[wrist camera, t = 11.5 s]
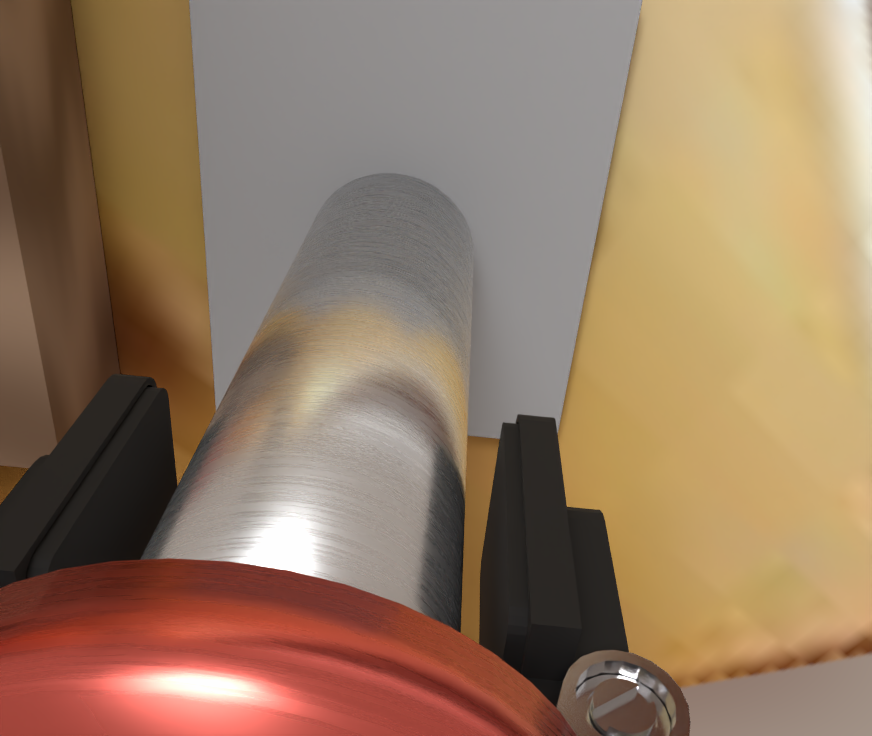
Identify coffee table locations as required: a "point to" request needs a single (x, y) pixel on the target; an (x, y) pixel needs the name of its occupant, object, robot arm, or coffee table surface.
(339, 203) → the peg
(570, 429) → the coffee table surface
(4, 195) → the eye block
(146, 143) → the coffee table surface
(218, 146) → the mat
